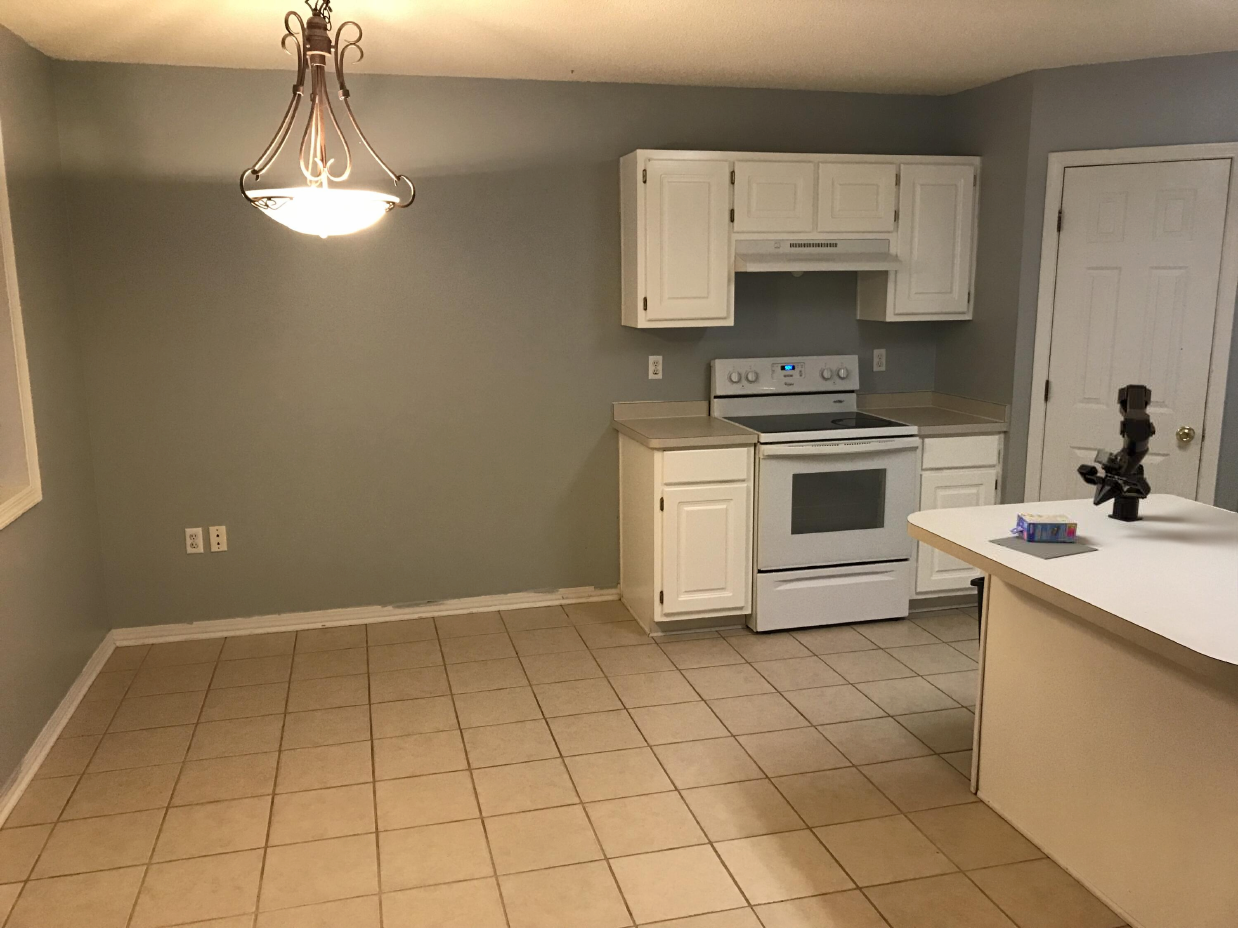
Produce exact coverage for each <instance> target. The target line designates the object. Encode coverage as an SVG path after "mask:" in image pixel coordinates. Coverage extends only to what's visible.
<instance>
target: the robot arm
mask: <svg viewBox="0 0 1238 928" xmlns="http://www.w3.org/2000/svg"><path fill="white" fill-rule="evenodd" d="M1116 398H1117V399H1116V405H1119V408H1118V411H1119V414H1120V415H1121V417H1122V418H1123V419H1122V420H1120V421H1119V432H1118V433H1119V436H1121V438H1122V440H1123V441H1122V447H1121V449H1120V450H1119V451H1117V452H1116V453H1115V452H1111V451H1106V450H1100V449H1099V450H1097V452H1096V454H1095V455H1096V456H1095V458H1094V460H1093V462H1094V463H1097V464H1099V465H1100V468H1101V469H1102V470H1099V469H1098V467H1096V466H1095V465H1091V464H1086V463H1081V464H1080V465H1079V467H1078V468H1077V469H1076V471H1077V473H1078V475H1079V476H1080V477H1081V479H1082V480H1083V481H1084V483H1086V484H1087V485H1090V486H1096V488H1095V493H1094V497H1093V501H1092V504H1093V506H1096V507H1098V506H1100V505H1102V504H1104V503H1106V502H1108V501H1110V500H1113V503H1112V513H1111V514H1107V518H1108V517H1109V518H1113V519H1117V520H1120V521H1124V522H1132V521H1138V520H1143V518H1144V517H1143V516H1139V508H1140V500H1146V499H1147V498H1148V496H1149V494H1151V490H1152V489H1151V485H1150V484H1149V482H1148V480H1147V477H1145V468H1144V465H1143V464H1142V461H1143V460H1144V459H1145V458H1146V456H1147V454H1148V453H1149V452H1150V447H1149V443H1150V439H1151V438H1153V436H1155V435H1156V426H1155V425H1154V423H1153V421H1151V415H1150V414H1149V413H1147V410H1148V406H1150V405H1151V404H1152V389H1150V388H1148V387H1147V385H1145V384H1136V383H1135V384H1126V386H1125V387H1121V388H1118V391H1117V397H1116Z"/></svg>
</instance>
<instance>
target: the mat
mask: <svg viewBox="0 0 1238 928" xmlns="http://www.w3.org/2000/svg"><path fill="white" fill-rule="evenodd" d="M988 542H989V543H992V542H993V543H992V544H995V543H996V545H998V544H1000V545H999V546H1001V545H1002V546H1001V547H1004V546H1006V547H1005V548H1008V549H1011V550H1015V551H1017V552H1020V551H1021V553H1024V554H1026V553H1027V554H1026V555H1030V556H1033V557H1037V558H1040V559H1043V560H1049V559H1050V560H1051V559H1055V558H1060V557H1066V556H1067V557H1068V556H1073V555H1078V554H1083V553H1089V552H1096V551H1098V550H1099V549H1098V548H1097V547H1093V546H1089V545H1085V544H1081V543H1078V542H1076V541H1075V542H1037V541H1026V540H1025V539H1024V538H1023V537H1021V536H1020V535H1019V534H1018V535H1014V536H1008V537H1001V538H995V539H989V540H988Z"/></svg>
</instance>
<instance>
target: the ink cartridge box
mask: <svg viewBox="0 0 1238 928" xmlns="http://www.w3.org/2000/svg"><path fill="white" fill-rule="evenodd" d="M1016 517H1017V518H1016V526H1015V527H1014V528H1012V529H1011V530H1009V532H1010V533H1012V535H1015V534H1018V536H1019V535H1020V536H1021V537H1023V538H1024V539H1025V540H1026V541H1037V542H1075V543H1076V537H1077V529H1078V523H1077V522H1076V521H1075V520H1073V518H1070V517H1069V516H1068V515H1066V514H1052V513H1051V514H1046V513H1043V514H1042V513H1017V516H1016Z"/></svg>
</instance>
